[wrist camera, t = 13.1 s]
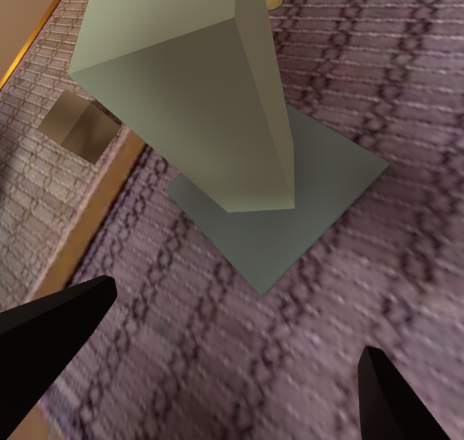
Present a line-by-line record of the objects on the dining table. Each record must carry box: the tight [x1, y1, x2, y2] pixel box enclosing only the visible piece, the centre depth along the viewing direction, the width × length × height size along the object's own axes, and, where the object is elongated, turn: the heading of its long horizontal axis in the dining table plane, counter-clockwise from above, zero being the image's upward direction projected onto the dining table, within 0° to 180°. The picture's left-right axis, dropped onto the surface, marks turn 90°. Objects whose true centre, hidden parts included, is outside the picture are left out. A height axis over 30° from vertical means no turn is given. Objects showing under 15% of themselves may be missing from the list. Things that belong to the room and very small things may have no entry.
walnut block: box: [37, 89, 121, 165], centre depth 26 cm, size 5×5×4 cm
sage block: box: [67, 0, 295, 213], centre depth 13 cm, size 5×5×13 cm
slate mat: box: [165, 103, 390, 296], centre depth 19 cm, size 12×12×1 cm
